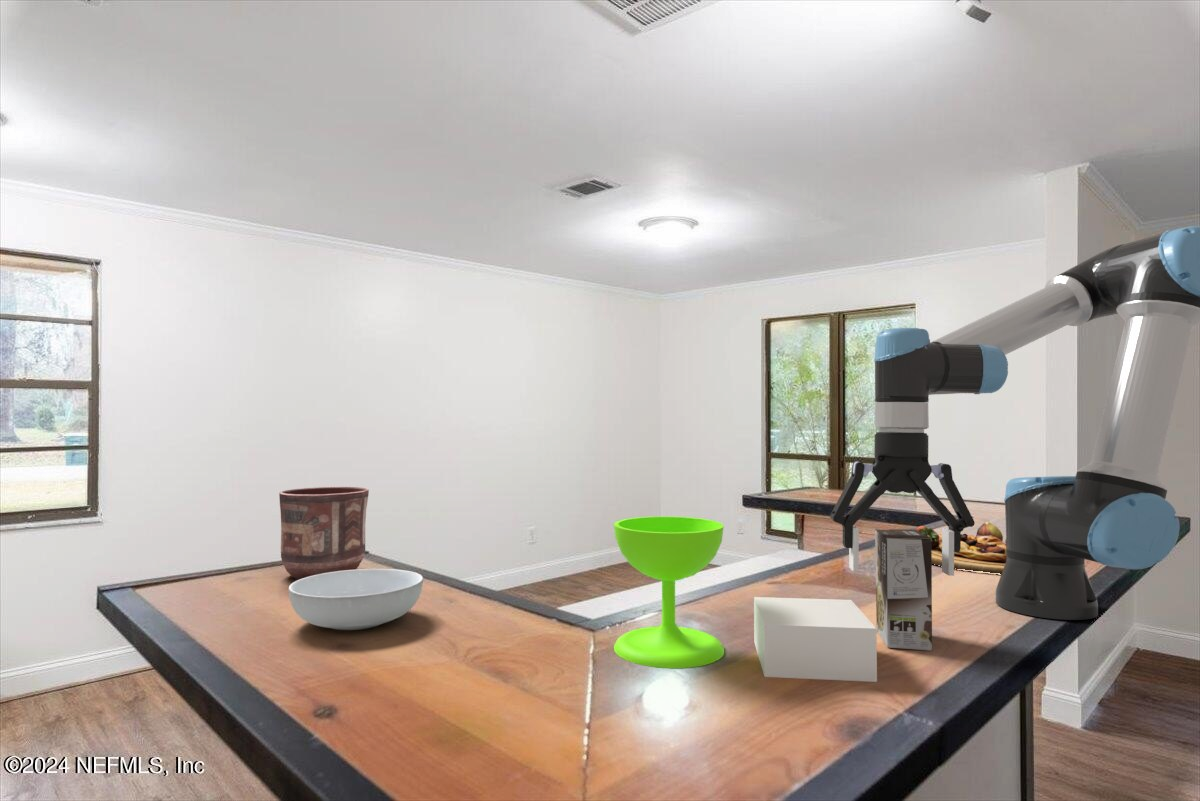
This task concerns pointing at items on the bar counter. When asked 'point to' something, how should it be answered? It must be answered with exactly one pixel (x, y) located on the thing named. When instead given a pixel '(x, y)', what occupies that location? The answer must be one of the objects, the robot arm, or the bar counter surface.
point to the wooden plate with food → (973, 549)
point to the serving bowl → (355, 597)
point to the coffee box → (904, 588)
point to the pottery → (322, 529)
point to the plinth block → (814, 639)
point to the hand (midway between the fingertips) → (900, 572)
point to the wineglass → (668, 587)
